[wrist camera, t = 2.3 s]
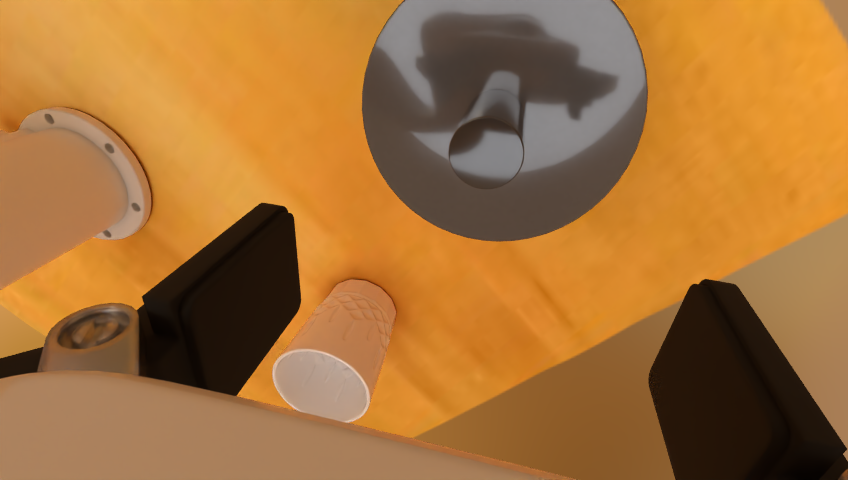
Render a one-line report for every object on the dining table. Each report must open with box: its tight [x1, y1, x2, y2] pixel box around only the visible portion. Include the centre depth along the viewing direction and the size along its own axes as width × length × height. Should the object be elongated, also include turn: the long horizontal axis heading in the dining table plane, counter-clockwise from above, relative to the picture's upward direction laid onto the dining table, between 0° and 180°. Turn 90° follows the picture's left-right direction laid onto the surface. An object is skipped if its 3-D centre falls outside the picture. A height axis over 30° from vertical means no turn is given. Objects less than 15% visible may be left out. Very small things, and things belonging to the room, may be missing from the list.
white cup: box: [272, 279, 396, 423], centre depth 38 cm, size 8×8×10 cm
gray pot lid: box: [362, 0, 648, 241], centre depth 19 cm, size 13×13×6 cm
